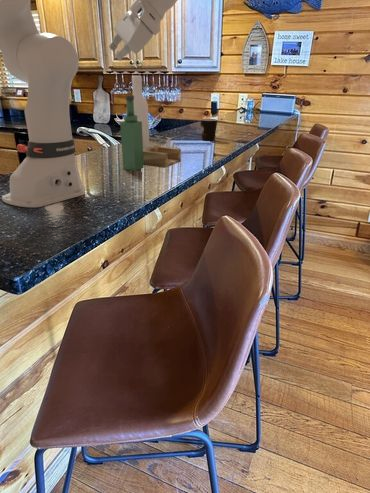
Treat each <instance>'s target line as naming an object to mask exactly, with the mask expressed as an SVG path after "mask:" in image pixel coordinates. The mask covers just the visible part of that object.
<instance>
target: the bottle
mask: <svg viewBox="0 0 370 493" xmlns="http://www.w3.org/2000/svg"><path fill="white" fill-rule="evenodd" d="M142 77H143V76H141V75H131V83H132V84H131V85H132V86H131V87H132V95H134V99H133V100H134V115H137V120H138V121H142V140H143V150H144V149H147V148H150V125H149V104H148V101H147V99H146V98H145V97H144V96H143V79H142Z"/></svg>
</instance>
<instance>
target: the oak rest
mask: <svg viewBox="0 0 370 493" xmlns="http://www.w3.org/2000/svg"><path fill="white" fill-rule="evenodd" d="M181 152H182V150H181V148H179V147H169V146H161V145H155V146H152V147H149V148H147V149H144V150H143V163H144V166H147V167H155V168H162V169H165V168H169V167H171V166H174V165H176V164H179V163H181V162H182V160H181V157H182V156H181V155H182V153H181Z"/></svg>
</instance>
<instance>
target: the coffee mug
mask: <svg viewBox="0 0 370 493" xmlns="http://www.w3.org/2000/svg"><path fill="white" fill-rule="evenodd" d="M199 121H200V131H201V141H203V142H214V141H215V140H216V139H215V138H216V133H217V125H218V119H217V118H200V120H199Z"/></svg>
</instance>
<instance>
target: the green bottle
mask: <svg viewBox="0 0 370 493" xmlns="http://www.w3.org/2000/svg"><path fill="white" fill-rule="evenodd" d="M133 99H134V95H133V94H131V95H130V94H126V95H125V101H126V103H125V104H126V105H125V106H126V114H124V115H123V119H124V120H123V121H120V139H121V152H122V155H121V156H122V167H123V169H122V170H127V171H134V172H135V171H138V170H141V169H144V166H145V165H144V163H143V140H142V121H138V120H137V115H134V100H133Z"/></svg>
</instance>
